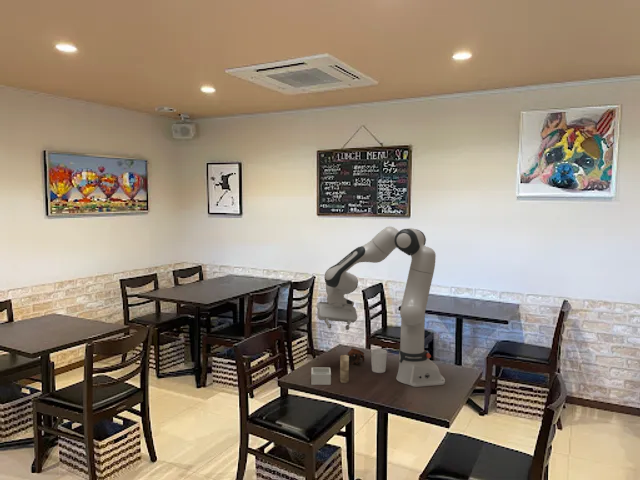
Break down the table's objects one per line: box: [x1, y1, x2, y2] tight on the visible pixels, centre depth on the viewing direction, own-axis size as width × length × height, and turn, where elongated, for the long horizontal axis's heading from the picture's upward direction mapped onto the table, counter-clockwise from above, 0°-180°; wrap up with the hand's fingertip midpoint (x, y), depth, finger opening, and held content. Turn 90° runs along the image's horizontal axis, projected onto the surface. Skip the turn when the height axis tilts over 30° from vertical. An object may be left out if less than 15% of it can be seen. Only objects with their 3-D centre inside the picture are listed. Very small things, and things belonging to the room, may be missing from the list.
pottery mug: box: [347, 347, 365, 365], centre depth 249 cm, size 12×10×8 cm
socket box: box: [310, 367, 332, 386], centre depth 223 cm, size 9×9×5 cm
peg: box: [339, 354, 350, 384], centre depth 223 cm, size 4×4×12 cm
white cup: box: [370, 348, 388, 374], centre depth 237 cm, size 8×8×10 cm
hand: (338, 328), depth 231 cm, fingers open, 8 cm apart
